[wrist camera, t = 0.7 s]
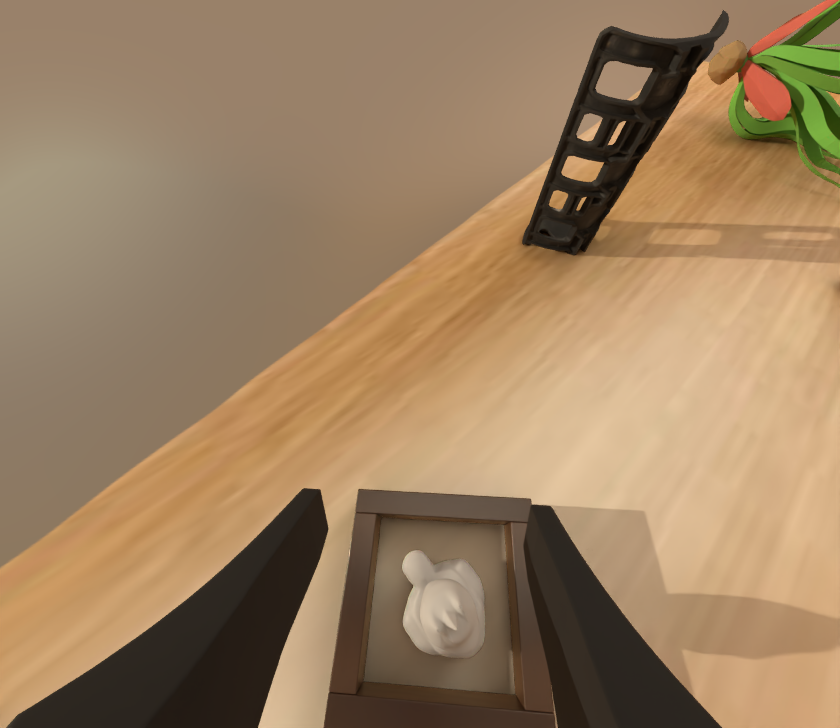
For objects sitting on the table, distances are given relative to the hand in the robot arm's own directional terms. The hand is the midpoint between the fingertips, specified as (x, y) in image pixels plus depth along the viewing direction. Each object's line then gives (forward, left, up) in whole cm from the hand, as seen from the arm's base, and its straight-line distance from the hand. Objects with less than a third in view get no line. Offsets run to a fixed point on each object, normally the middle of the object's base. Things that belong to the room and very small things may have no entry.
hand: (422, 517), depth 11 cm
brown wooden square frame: (-3, -1, -16) cm, 16 cm away
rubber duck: (-3, -1, -16) cm, 16 cm away
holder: (+35, -16, -16) cm, 41 cm away
